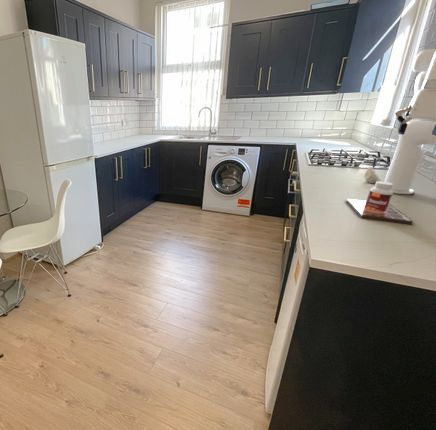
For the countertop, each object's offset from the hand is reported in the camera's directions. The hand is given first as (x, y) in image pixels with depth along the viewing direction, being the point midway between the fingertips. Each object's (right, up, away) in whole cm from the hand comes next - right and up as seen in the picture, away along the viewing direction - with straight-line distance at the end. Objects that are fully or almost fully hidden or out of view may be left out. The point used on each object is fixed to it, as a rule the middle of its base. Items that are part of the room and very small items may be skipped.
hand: (417, 134), depth 107 cm
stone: (+19, -14, +39) cm, 46 cm away
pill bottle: (-19, -30, -3) cm, 36 cm away
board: (-16, -30, 0) cm, 34 cm away
